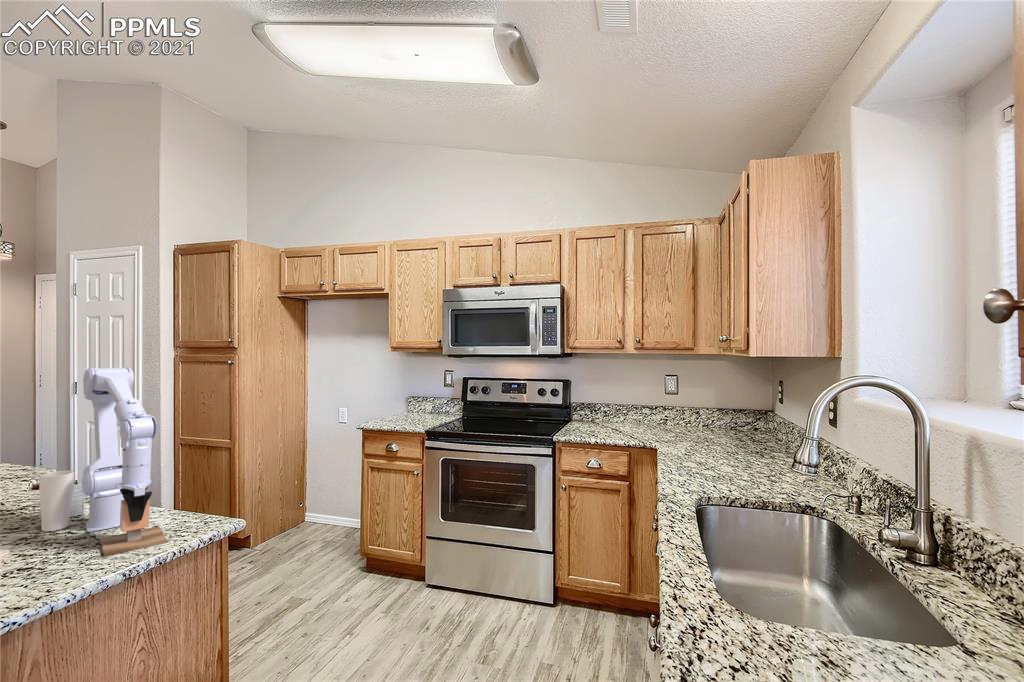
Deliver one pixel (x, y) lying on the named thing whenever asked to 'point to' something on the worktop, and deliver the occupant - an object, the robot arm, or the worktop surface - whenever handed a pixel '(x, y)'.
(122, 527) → the salmon orange block
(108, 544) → the post board
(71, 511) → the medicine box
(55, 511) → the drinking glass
